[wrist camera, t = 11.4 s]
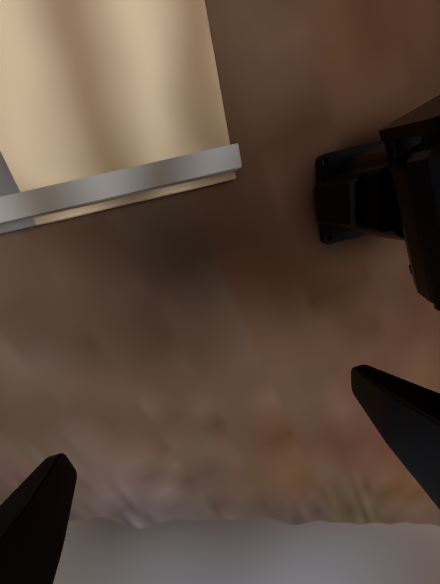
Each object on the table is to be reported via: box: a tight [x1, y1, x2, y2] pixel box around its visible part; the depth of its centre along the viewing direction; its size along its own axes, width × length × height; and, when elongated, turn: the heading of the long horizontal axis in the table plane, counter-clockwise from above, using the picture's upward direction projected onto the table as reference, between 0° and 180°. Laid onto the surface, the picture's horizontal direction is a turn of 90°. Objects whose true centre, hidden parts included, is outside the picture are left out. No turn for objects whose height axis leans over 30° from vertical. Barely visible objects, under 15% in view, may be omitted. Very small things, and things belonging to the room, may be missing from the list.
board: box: [0, 0, 242, 235], centre depth 12 cm, size 21×14×4 cm, turn 102°
